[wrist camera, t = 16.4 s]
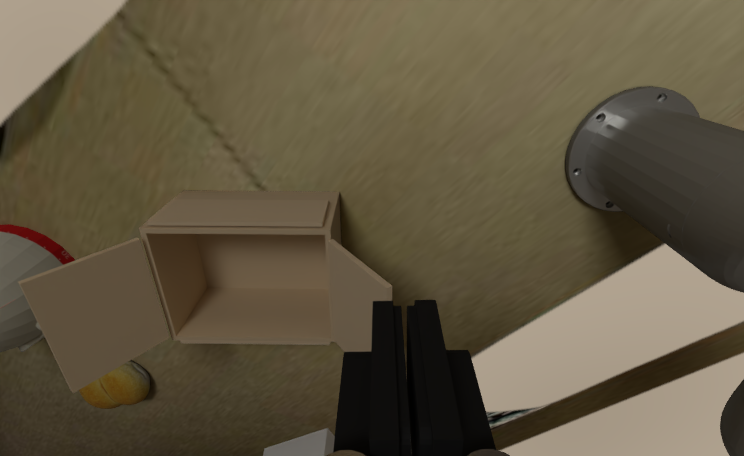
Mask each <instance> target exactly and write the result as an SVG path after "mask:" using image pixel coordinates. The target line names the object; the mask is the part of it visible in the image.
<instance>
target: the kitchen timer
mask: <svg viewBox="0 0 744 456" xmlns="http://www.w3.org/2000/svg"><path fill="white" fill-rule="evenodd" d="M72 261H75V259H74V258H73V257H72V256H71V255H70V254H69V253H68V252H67V251H66V250H65V249H64V248H63V247H62V246H60V245H59V244H57V243H56V242H54V241H53V240H51V239H50V238H48V237H47V236H45V235H43V234H40V233H38V232H35V231H33V230H31V229H28V228H24V227H19V226H14V225H0V352H2V351H6V350H9V349H12V348H15V347H18V348H19V349H20V351H21V352H23V351H25V350H26V349H28V348H29V347H31V346H32V345H34V344H35V343H37V342H38V341H40V340H41V339H43V338H44V337H45V336H44V334H43V332H42V330H41V328H40V326H39V324H38V322H37V320H36V318H35V316H34V314H33V312H32V310H31V308H30V306H29V304H28V302H27V299H26V297H25V295H24V293H23V291H22V289H21V287H20V285H19V283H18V281H21V280H24V279H26V278H29V277H32V276H35V275H37V274H40V273H43V272H45V271H48V270H51V269H54V268H56V267H59V266H62V265H64V264H67V263H70V262H72Z"/></svg>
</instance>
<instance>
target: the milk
mask: <svg viewBox="0 0 744 456" xmlns="http://www.w3.org/2000/svg"><path fill="white" fill-rule="evenodd" d="M334 439H335V436H334V435H333V434H332V433H331V431H330V430H329V429H328V428H326V429H323V430H320V431H317V432H314V433H311V434H308V435H305V436H301V437H298V438H295V439H292V440H289V441H286V442H283V443H280V444H277V445H274V446H271V447H268V448H265V449H264V454H263V456H327V455H328V454H330V453H333V448H334Z"/></svg>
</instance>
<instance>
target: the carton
mask: <svg viewBox="0 0 744 456" xmlns="http://www.w3.org/2000/svg"><path fill="white" fill-rule="evenodd" d="M139 230H140V234H141V237H142V240H143V244H144V247H145V250H146V254H147V257H148V260H149V264H150V267H151V270H152V274H153V277H154V281H155V284H156V287H157V291H158V294H159V297H160V301H161V304H162V307H163V311H164V314H165V317H166V321H167V324H168V327H169V331H170V334H171V337H172V340H180V341H181V343H208V344H294V345H330V342H335V341H334V334H333V317H332V299H331V282H330V264H329V246H328V241H329V240H332V239H333V240H335V241H336V242H337V243H338V244H340V245H341V221H340V196H339V192H332V191H182V192H181V193H180V194H179V195H177V196H176V197H175V198H174V199H172V200H171V201H170V202H168V203H167V204H166V205H165V206H164V207H163V208H161V209H160V210H159V211H158V212H157V213H155V214H154V215H153V216H152V217H151V218H150V219H148V220H147V221H146V223H145V224H144V225H142V226H141V227H140V228H139Z"/></svg>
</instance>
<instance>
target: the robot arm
mask: <svg viewBox="0 0 744 456" xmlns="http://www.w3.org/2000/svg"><path fill="white" fill-rule="evenodd" d="M598 115H599V116H598ZM597 116H598V118H596V117H597ZM575 169H576V170H575ZM565 170H566V174H567V179H568V181H569V183H570V186H571V188H572V189H573V190H574V192H575V193H576V194H577V195H578V196H579V197H580V198H581V199H582V200H583V201H585V202H586V203H588V204H589V205H591V206H593V207H595V208H598V209H601V210H605V211H613V212H617V211H624V212H625V213H627V214H628V215H629V216H630V217H632V218H633V219H634V220H636V221H637V222H638V223H640V224H641V225H642V226H643V227H645V228H646V229H647V230H649V231H650V232H651V233H653V234H654V235H655V236H656V237H658V238H659V239H660V240H662V241H663V242H664V243H666V244H667V245H668V246H669V247H671V248H672V249H673V250H675V251H676V252H677V253H679V254H680V255H681V256H682V257H684V258H685V259H686V260H688V261H689V262H690V263H692V264H693V265H694V266H695V267H697V268H698V269H699V270H701V271H702V272H703V273H705V274H706V275H707V276H708V277H710V278H711V279H713V280H715V281H716V282H718V283H720V284H722V285H724V286H726V287H728V288H731V289H734V290H737V291H740V292H744V131H742V130H739V129H736V128H732V127H729V126H726V125H722V124H719V123H715V122H712V121H709V120H705V119H702V118H700V116H699V113H698V112H697V110H696V108H695V107H694V105H693V104H692V103H691V102H690V101H689V100H688V99H687V98H686V97H685V96H683V95H681V94H679V93H677V92H676V91H673V90H669V89H665V88H660V87H653V86H647V87H636V88H632V89H628V90H625V91H622V92H620V93H618V94H615V95H613V96H611V97H609V98H608V99H606V100H605V101H603V102H601V103H600V104H599V105H598V106H596V107H595V108H594V109H593V110H592V111H591V112H589V113H588V115H587V116H586V117H585V118H584V119H583V120H582V122H581V123H580V124H579V126H578V127H577V129H576V130H575V132H574V134H573V136H572V138H571V140H570V143H569V145H568V149H567V154H566V162H565ZM574 170H575V171H574ZM720 430H721V436H722V439H723V443H724V446H725V448H726V450H727V452H728V453H729V455H730V456H744V380H743V381H742V382H741V384H740V385H739V386H738V387H737V389H736V390H735V391H734V392H733V394H732V395H731V397H730V398H729V400H728V401H727V403H726V405H725V407H724V410H723V412H722V416H721V423H720ZM410 436H411V440H410ZM411 449H412V456H510V455H508V454H506V453H504V452H501V451H497V450H496V448H495V444H494V440H493V437H492V433H491V429H490V426H489V422H488V418H487V415H486V411H485V407H484V404H483V401H482V396H481V393H480V389H479V386H478V382H477V378H476V374H475V371H474V367H473V363H472V360H471V356H470V353H469V351H468V350H446V348H445V344H444V339H443V334H442V329H441V324H440V319H439V314H438V309H437V304H436V300H415V305H414V306H407V380H406V367H405V354H404V340H403V327H402V314H401V306H393V301H373V309H372V348H371V351H367V352H344V357H343V366H342V375H341V384H340V393H339V403H338V412H337V421H336V430H335V439H334V448H333V453H330V454H328V455H327V456H411Z"/></svg>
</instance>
